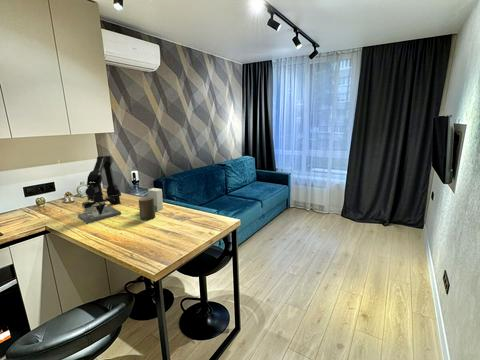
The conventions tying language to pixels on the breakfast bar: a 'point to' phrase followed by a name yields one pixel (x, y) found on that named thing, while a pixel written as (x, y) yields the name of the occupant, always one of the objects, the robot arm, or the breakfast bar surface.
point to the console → (99, 215)
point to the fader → (95, 213)
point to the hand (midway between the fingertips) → (100, 214)
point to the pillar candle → (146, 208)
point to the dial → (88, 209)
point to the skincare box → (156, 198)
